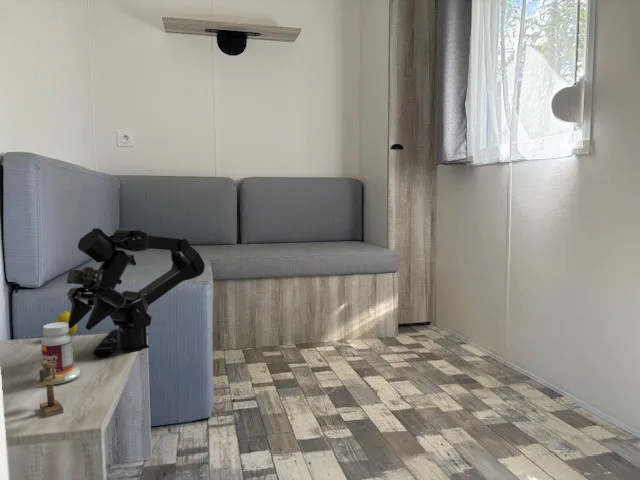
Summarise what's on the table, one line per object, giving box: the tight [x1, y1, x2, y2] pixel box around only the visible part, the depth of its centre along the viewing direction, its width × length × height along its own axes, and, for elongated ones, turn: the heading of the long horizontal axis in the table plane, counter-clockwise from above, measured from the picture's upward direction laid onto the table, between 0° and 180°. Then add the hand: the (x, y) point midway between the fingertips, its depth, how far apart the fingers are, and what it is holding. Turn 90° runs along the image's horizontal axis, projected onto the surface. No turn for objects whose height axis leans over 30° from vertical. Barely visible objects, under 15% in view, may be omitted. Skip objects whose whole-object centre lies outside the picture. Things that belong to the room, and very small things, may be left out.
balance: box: [34, 361, 65, 418], centre depth 101 cm, size 11×4×10 cm, turn 41°
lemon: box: [55, 310, 78, 337], centre depth 147 cm, size 6×6×8 cm
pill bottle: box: [40, 322, 74, 376], centre depth 117 cm, size 6×6×11 cm
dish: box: [35, 366, 81, 385], centre depth 117 cm, size 9×9×1 cm
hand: (78, 328), depth 124 cm, fingers open, 9 cm apart
